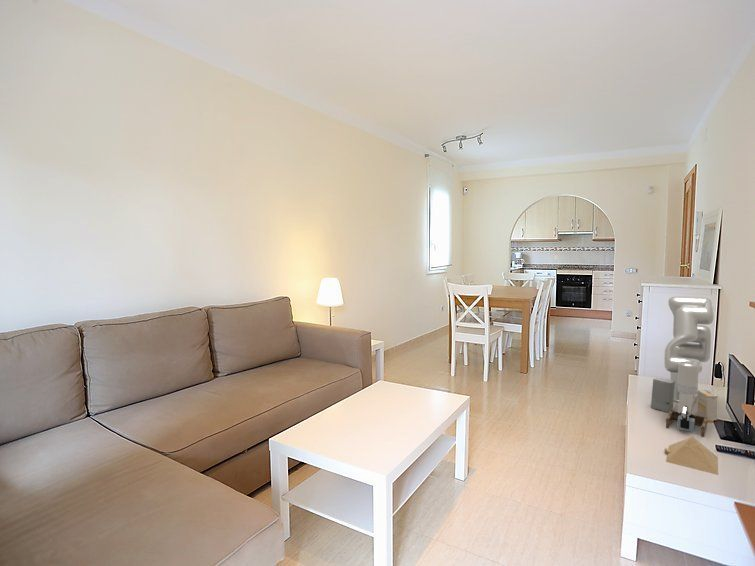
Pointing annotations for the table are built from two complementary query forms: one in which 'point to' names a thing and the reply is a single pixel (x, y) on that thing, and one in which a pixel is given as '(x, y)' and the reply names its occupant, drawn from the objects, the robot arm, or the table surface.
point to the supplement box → (707, 405)
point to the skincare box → (662, 394)
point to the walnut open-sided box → (698, 419)
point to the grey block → (691, 424)
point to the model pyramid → (692, 455)
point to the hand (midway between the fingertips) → (686, 424)
